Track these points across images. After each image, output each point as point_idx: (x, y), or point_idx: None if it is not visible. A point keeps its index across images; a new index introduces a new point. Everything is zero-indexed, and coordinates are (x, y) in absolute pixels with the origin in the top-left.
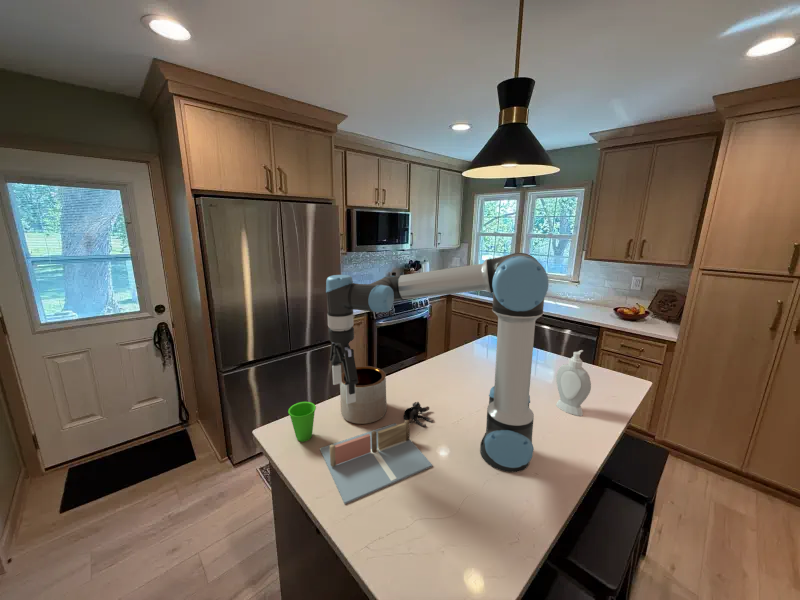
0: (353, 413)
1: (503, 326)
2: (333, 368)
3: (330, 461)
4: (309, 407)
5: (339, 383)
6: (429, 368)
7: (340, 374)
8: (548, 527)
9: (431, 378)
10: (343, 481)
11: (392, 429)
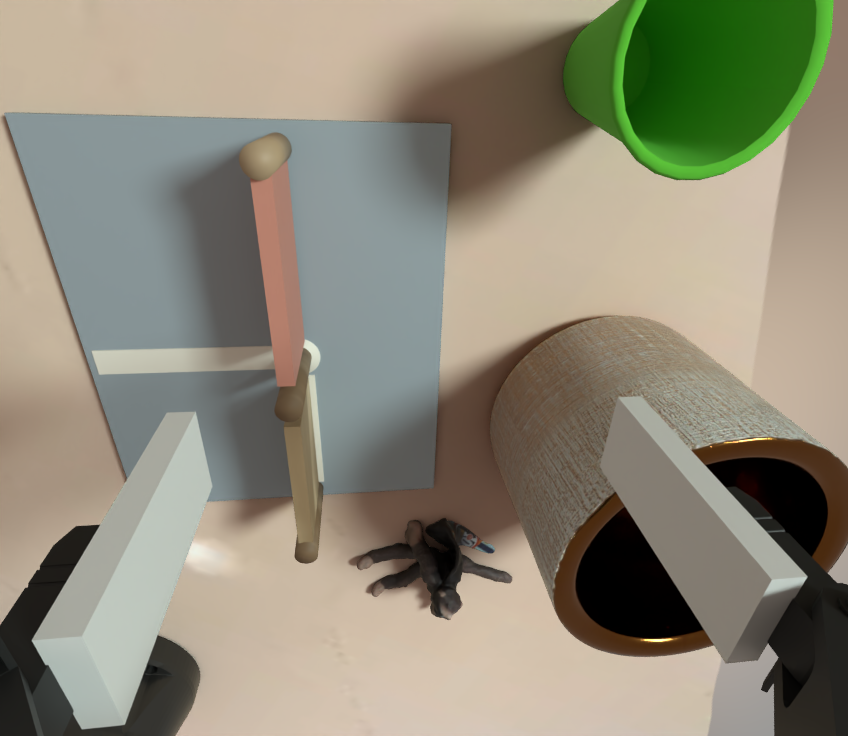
0: (554, 371)
1: None
2: (744, 558)
3: (272, 134)
4: (726, 139)
5: (605, 449)
6: (673, 688)
7: (651, 535)
8: None
9: (612, 672)
10: (151, 158)
11: (291, 485)
